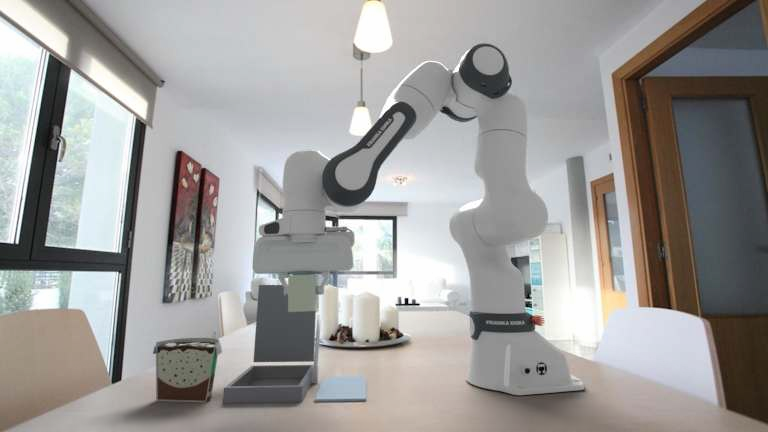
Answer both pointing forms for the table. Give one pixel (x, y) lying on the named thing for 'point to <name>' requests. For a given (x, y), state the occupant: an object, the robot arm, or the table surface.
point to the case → (295, 393)
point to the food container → (186, 369)
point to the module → (303, 292)
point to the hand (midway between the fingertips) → (304, 295)
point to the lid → (282, 329)
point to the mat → (342, 389)
